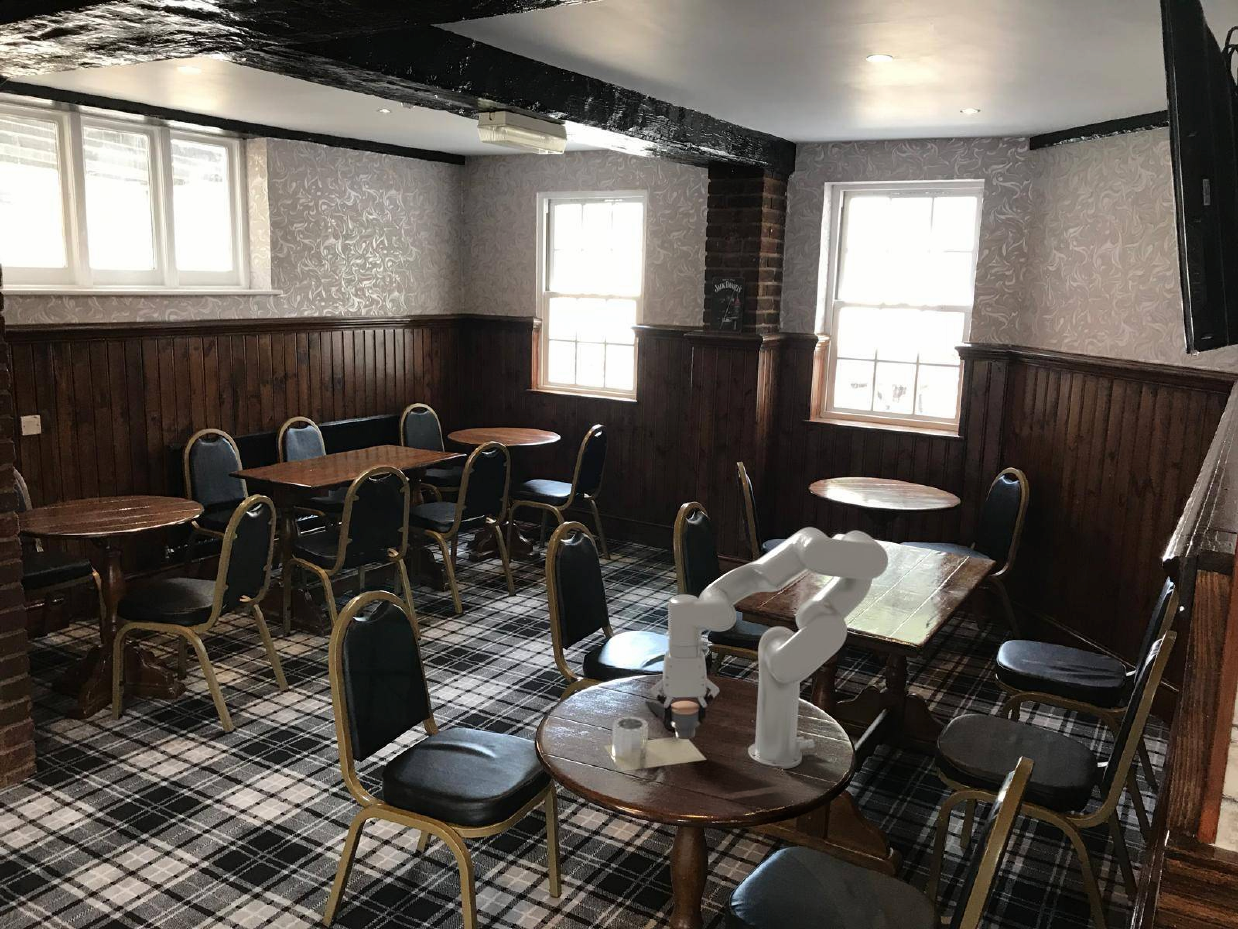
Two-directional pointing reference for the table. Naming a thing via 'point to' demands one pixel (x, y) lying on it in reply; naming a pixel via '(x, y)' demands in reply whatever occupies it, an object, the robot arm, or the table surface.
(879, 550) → the robot arm
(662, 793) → the table surface
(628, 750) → the cylinder on base plate
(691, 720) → the peach ball on collar
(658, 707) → the microphone
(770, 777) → the table surface
